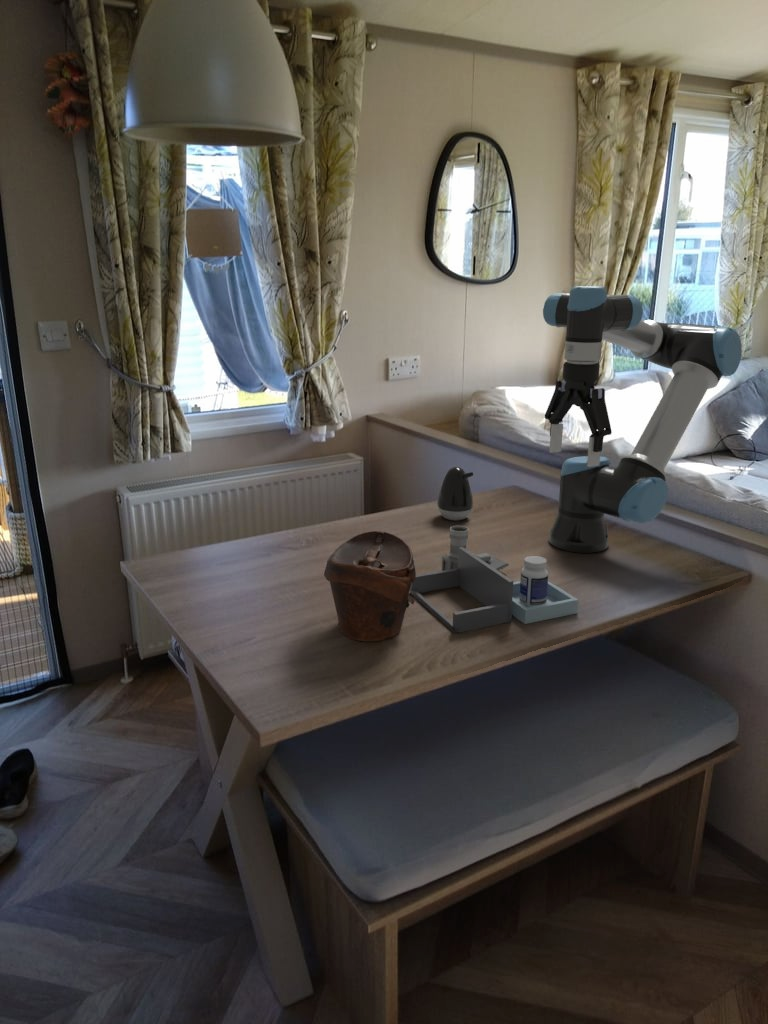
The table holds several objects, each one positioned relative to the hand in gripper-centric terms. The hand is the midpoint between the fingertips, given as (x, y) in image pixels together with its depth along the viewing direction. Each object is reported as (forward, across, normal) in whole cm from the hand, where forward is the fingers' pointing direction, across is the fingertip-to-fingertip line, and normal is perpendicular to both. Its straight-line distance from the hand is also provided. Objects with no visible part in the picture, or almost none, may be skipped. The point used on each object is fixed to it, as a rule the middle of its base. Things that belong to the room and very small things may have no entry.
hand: (573, 458), depth 166 cm
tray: (+29, +10, -15) cm, 34 cm away
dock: (+29, +4, -30) cm, 42 cm away
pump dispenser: (+29, -49, -2) cm, 57 cm away
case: (+29, +6, -51) cm, 59 cm away
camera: (+29, -12, -18) cm, 36 cm away
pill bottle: (+28, +10, -15) cm, 33 cm away
